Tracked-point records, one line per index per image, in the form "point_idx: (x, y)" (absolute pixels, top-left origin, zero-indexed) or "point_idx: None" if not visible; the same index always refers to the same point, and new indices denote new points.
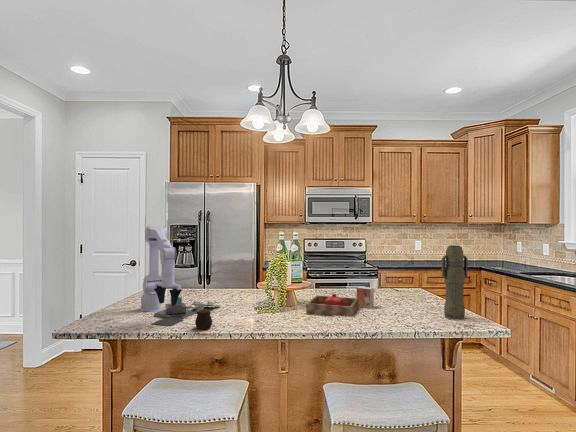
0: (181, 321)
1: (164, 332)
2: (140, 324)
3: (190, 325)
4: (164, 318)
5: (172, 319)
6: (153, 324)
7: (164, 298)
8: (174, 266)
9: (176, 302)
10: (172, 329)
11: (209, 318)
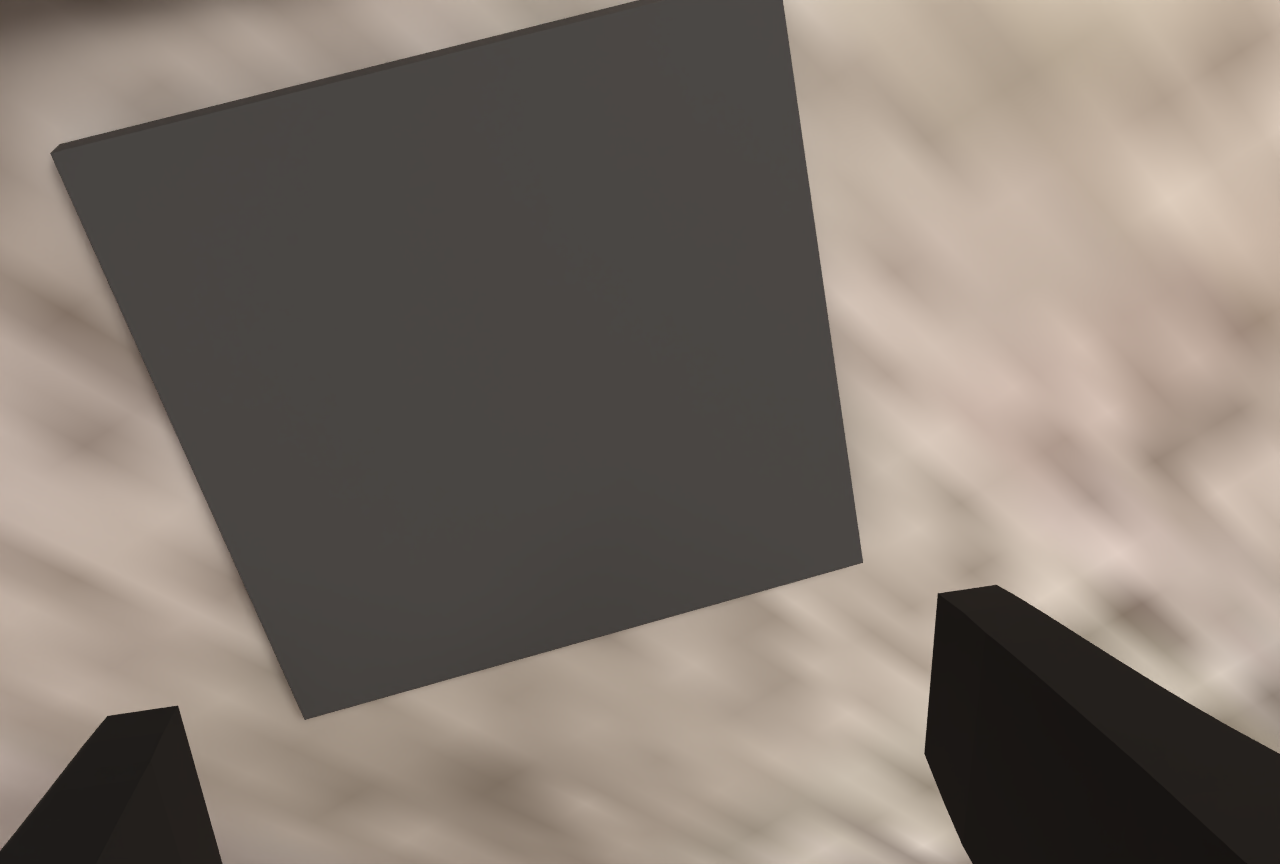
0: (789, 89)
1: None
2: None
3: (1224, 188)
4: (84, 210)
5: (421, 143)
6: (370, 688)
7: (113, 830)
8: None
9: (1068, 645)
10: None
11: None
